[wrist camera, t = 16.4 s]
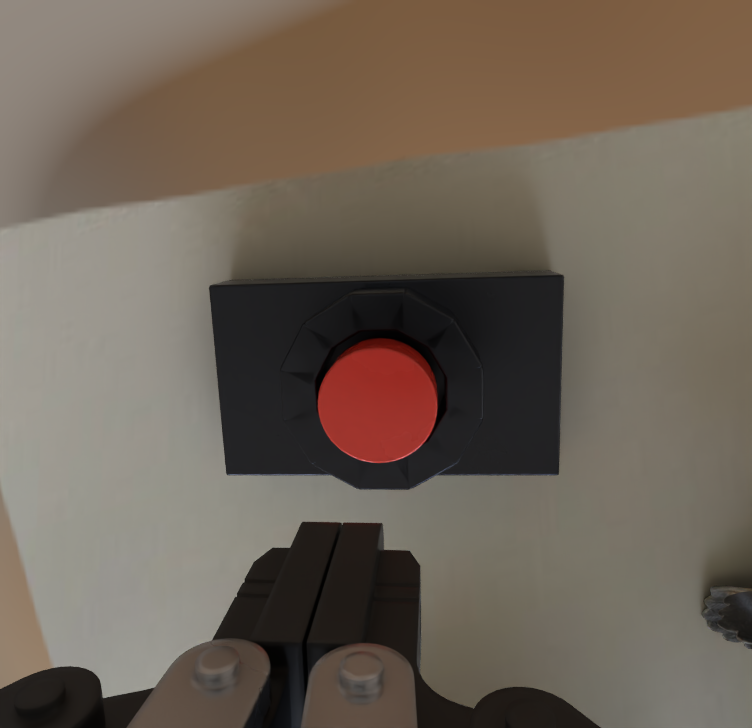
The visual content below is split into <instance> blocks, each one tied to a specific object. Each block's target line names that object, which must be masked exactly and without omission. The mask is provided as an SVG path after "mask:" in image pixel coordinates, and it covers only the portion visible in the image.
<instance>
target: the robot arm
mask: <svg viewBox="0 0 752 728" xmlns="http://www.w3.org/2000/svg"><path fill="white" fill-rule="evenodd" d="M420 662H421V576H420V565H419V563H418V562H417V561H416V559H415V558H414V556H413V555H412V554H411V552H410V551H401V550H384V536H383V525H382V523H343V525H342V523H337V522H302V523H301V525H300V527H299V530H298V532H297V534H296V536H295V538H294V541H293V543H292V545H291V547H290V548H272V549H270V550H269V551H268V552H266V553H265V554H264V555H263V556H261V557H260V558H259V559H257V560H256V561H255V562H254V563H253V565H252V567H251V568H250V570H249V572H248V574H247V576H246V578H245V583H242V585H241V587H240V589H239V591H238V593H237V597H235V598H234V600H233V602H232V604H231V606H230V608H229V610H228V611H227V613H226V615H225V617H224V619H223V621H222V623H221V625H220V626H219V628H218V630H217V632H216V634H215V636H214V638H213V640H212V641H209V642H205V643H202V644H200V645H197V646H195V647H193V648H191V649H190V650H188V651H186V652H185V653H183V654H182V655H180V656H179V657H178V658H177V659H176V660H175V661H174V662H173V663H172V664H171V666H170V667H169V668H168V670H167V671H166V673H165V674H164V675H163V677H162V678H161V680H160V681H159V682H158V684H157V685H156V687H155V688H151V689H147V690H143V691H138V692H133V693H128V694H122V695H117V696H112V697H107V698H103V697H102V689H101V684H100V680H99V678H98V677H97V675H95V674H94V673H93V672H92V671H89V670H87V669H84V668H80V667H71V666H70V667H57V668H51V669H48V670H43V671H40V672H37V673H34V674H32V675H29V676H27V677H24V678H22V679H20V680H18V681H16V682H14V683H12V684H10V685H8V686H6V687H4V688H2V689H0V728H600V727H599V726H598V725H596V724H595V723H594V722H592V721H591V720H590V719H589V718H587V717H586V716H585V715H583V714H582V713H581V712H579V711H578V710H577V709H575V708H574V707H573V706H572V705H570V704H569V703H567V702H566V701H564V700H563V699H561V698H559V697H557V696H555V695H553V694H551V693H548V692H545V691H543V690H538V689H534V688H527V687H510V688H504V689H500V690H496V691H494V692H492V693H490V694H488V695H486V696H485V697H484V698H482V699H481V700H480V701H479V702H478V703H477V705H476V706H475V708H474V709H473V708H470V707H467V706H463V705H460V704H457V703H455V702H452V701H450V700H448V699H446V698H444V697H442V696H440V695H439V694H437V693H436V692H434V691H433V690H432V689H431V688H430V687H429V686H428V685H427V684H426V683H425V681H424V680H423V679H422V677H421V675H420Z"/></svg>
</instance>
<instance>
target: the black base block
mask: <svg viewBox="0 0 752 728" xmlns="http://www.w3.org/2000/svg"><path fill="white" fill-rule="evenodd" d="M209 291H210V302H211V313H212V324H213V334H214V345H215V356H216V367H217V378H218V389H219V400H220V410H221V421H222V432H223V443H224V454H225V465H226V474H227V475H332V476H334V477H336V478H338V479H340V480H342V481H343V482H345V483H347V484H349V485H351V486H353V487H355V488H357V489H389V490H409V489H410V488H414V487H416V486H418V485H419V484H421V483H423V482H425V481H427V480H429V479H430V478H432V477H434V476H436V475H558V474H559V455H560V416H561V377H562V338H563V299H564V276H563V275H561V274H558V273H556V272H553V271H550V270H548V271H515V272H482V273H449V274H416V275H384V276H351V277H318V278H285V279H253V280H229V281H225V282H221V283H217V284H213V285H210V287H209ZM372 338H389V339H395V340H398V341H401V342H403V343H405V344H408V345H409V346H411V347H412V348H414V349H415V350H417V351H418V352H419V353H420V354H421V355H422V356H423V357H424V358H425V359H426V361H427V362H428V364H429V365H430V367H431V369H432V371H433V373H434V376H435V379H436V384H437V404H438V406H437V416H436V421H435V424H434V427H433V429H432V431H431V433H430V435H429V437H428V438H427V440H426V441H425V442H424V443H423V444H422V445H421V447H419V448H418V449H417V450H416V451H415V452H413V453H412V454H410V455H408V456H406V457H404V458H402V459H399V460H396V461H392V462H387V463H371V462H366V461H362V460H359V459H356V458H354V457H352V456H349V455H348V454H346V453H345V452H343V451H342V450H340V449H339V448H338V447H337V446H336V445H335V444H334V443H333V442H332V441H331V440H330V438H329V437H328V436H327V434H326V432H325V430H324V429H323V426H322V424H321V421H320V418H319V413H318V394H319V390H320V386H321V383H322V381H323V379H324V377H325V375H326V374H327V372H328V370H329V369H330V368H331V366H332V365H333V364H334V362H335V361H336V360H337V359H338V357H339V356H340V355H341V354H342V353H343V352H344V351H345V350H346V349H348V348H349V347H351V346H352V345H354V344H356V343H358V342H361V341H363V340H367V339H372Z"/></svg>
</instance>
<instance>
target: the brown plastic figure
mask: <svg viewBox="0 0 752 728" xmlns="http://www.w3.org/2000/svg"><path fill="white" fill-rule="evenodd" d="M710 592H711V594H712V595H710V596H708V597H706V598H705V599H704V603H705V604H706V606H708V608H706V609H705V610H704V611H703V613H702V616H703V618H704V619H707V620H708V627H709V628H710V629H711V630H713V631H717V632H721V633H723V638H724V639H726V640H727V641H732V642H744V643H745V644H744V646H745V647H747V648H748V649H752V589H750V588H739V587H731V586H713V587H711V588H710Z"/></svg>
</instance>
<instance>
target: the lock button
mask: <svg viewBox="0 0 752 728" xmlns="http://www.w3.org/2000/svg"><path fill="white" fill-rule="evenodd" d="M437 406H438V404H437V384H436V379H435V376H434V373H433V371H432V369H431V367H430V365H429V364H428V362H427V361H426V359H425V358H424V357H423V356H422V355H421V354H420V353H419V352H418V351H417V350H415V349H414V348H412V347H411V346H409V345H408V344H405V343H403V342H401V341H398V340H395V339H389V338H372V339H367V340H363V341H361V342H358V343H356V344H354V345H352V346H351V347H349V348H348V349H346V350H345V351H344V352H343V353H342V354H341V355H340V356H339V357H338V359H337V360H336V361H335V362H334V364H333V365H332V366H331V368H330V369H329V370H328V372H327V374H326V375H325V377H324V379H323V381H322V383H321V386H320V390H319V394H318V413H319V418H320V421H321V424H322V426H323V429H324V430H325V432H326V434H327V436H328V437H329V438H330V440H331V441H332V442H333V443H334V444H335V445H336V446H337V447H338V448H339V449H340V450H342V451H343V452H345V453H346V454H348V455H349V456H352V457H354V458H356V459H359V460H362V461H366V462H371V463H387V462H392V461H396V460H399V459H402V458H404V457H406V456H408V455H410V454H412V453H413V452H415V451H416V450H417V449H418V448H419V447H421V445H422V444H423V443H424V442H425V441H426V440H427V438H428V437H429V435H430V433H431V431H432V429H433V427H434V424H435V421H436V416H437Z"/></svg>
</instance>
